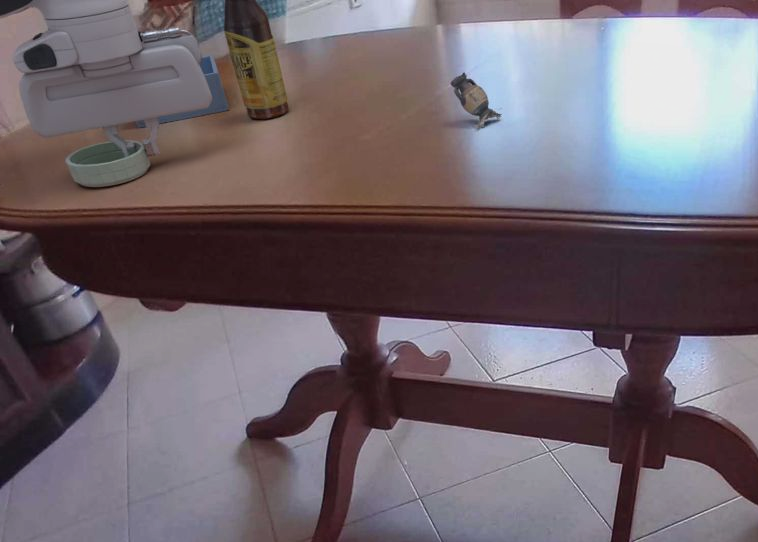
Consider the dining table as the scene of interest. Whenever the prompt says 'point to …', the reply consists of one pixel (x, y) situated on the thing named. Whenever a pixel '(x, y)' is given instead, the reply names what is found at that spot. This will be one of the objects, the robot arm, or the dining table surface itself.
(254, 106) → the sauce bottle
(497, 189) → the dining table surface
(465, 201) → the dining table surface
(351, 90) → the dining table surface
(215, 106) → the tub
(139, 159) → the mint green bowl
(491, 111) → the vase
